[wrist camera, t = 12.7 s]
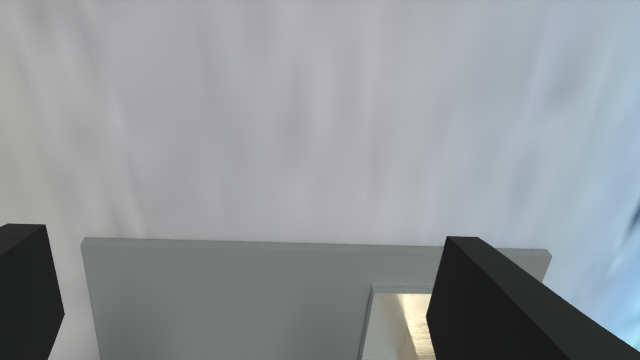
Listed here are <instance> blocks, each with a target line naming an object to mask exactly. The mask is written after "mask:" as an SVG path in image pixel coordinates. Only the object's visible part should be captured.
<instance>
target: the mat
mask: <svg viewBox="0 0 640 360" xmlns="http://www.w3.org/2000/svg"><path fill="white" fill-rule="evenodd" d="M443 249H444V247H425V246H387V245H348V244H310V243H271V242H233V241H195V240H156V239H118V238H84V240H83V242H82V243H81V251H82V256H83V262H84V267H85V273H86V279H87V284H88V290H89V296H90V301H91V307H92V313H93V318H94V324H95V330H96V335H97V341H98V346H99V352H100V358H101V360H358V356H359V351H360V346H361V340H362V335H363V329H364V324H365V319H366V313H367V308H368V302H369V297H370V291H371V286H372V284H398V285H434V283H435V279H436V275H437V272H438V268H439V264H440V260H441V257H442V253H443ZM495 249H496V250H498V251H499V252H500V253H502V254H503V255H505V256H506V257H507V258H509V259H510V260H511V261H513V262H514V263H515V264H517V265H518V266H519V267H521V268H522V269H523V270H525V271H526V272H527V273H529V274H530V275H531V276H533V277H534V278H535V279H537V280H538V281H540V282H541V283H542V281H543V278H544V276H545V273H546V271H547V268H548V266H549V263H550V261H551V258H552V255H551V254H550V253H549V252H548V251H547V250H541V249H502V248H495Z"/></svg>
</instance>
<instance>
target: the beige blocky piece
mask: <svg viewBox="0 0 640 360" xmlns="http://www.w3.org/2000/svg"><path fill="white" fill-rule="evenodd" d="M433 287H434V285H398V284H372V286H371V291H370V297H369V302H368V308H367V313H366V319H365V324H364V329H363V335H362V340H361V346H360V351H359V356H358V360H436V357H435V354H434V350H433V346H432V342H431V338H430V334H429V329H428V325H427V321H426V313H427V309H428V306H429V302H430V298H431V294H432V291H433Z"/></svg>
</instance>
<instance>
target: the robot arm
mask: <svg viewBox="0 0 640 360" xmlns="http://www.w3.org/2000/svg"><path fill="white" fill-rule="evenodd" d="M64 315H65V313H64V308H63V304H62V299H61V294H60V290H59V285H58V280H57V276H56V271H55V266H54V262H53V257H52V252H51V248H50V243H49V238H48V234H47V229H46V225H41V224H6V225H4V226H1V227H0V360H48V357H49V355H50V352H51V350H52V347H53V345H54V342H55V339H56V337H57V334H58V331H59V328H60V326H61V323H62V320H63V317H64ZM426 321H427V325H428V329H429V334H430V338H431V342H432V346H433V350H434V354H435V357H436V360H640V352H639V351H637V350H636V349H634V348H633V347H631V346H630V345H628V344H627V343H625V342H624V341H622V340H621V339H619V338H618V337H617V336H615V335H614V334H612V333H611V332H609V331H608V330H606V329H605V328H603V327H602V326H600V325H599V324H597V323H596V322H595V321H593V320H592V319H590V318H589V317H587V316H586V315H585V314H583V313H582V312H580V311H579V310H578V309H576V308H575V307H573V306H572V305H571V304H569V303H568V302H567V301H565V300H564V299H563V298H561V297H560V296H558V295H557V294H556V293H554V292H553V291H552V290H550V289H549V288H548V287H546V286H545V285H544V284H542V283H541V282H540V281H538V280H537V279H535V278H534V277H533V276H531V275H530V274H529V273H527V272H526V271H525V270H523V269H522V268H521V267H519V266H518V265H517V264H515V263H514V262H513V261H511V260H510V259H509V258H507V257H506V256H505V255H503V254H502V253H500V252H499V251H498V250H496V249H495V248H493V247H492V246H491V245H489V244H488V243H486V242H484V241H483V240H481V239H480V238H478V237H457V236H447V238H446V241H445V245H444V249H443V253H442V257H441V260H440V264H439V268H438V272H437V275H436V279H435V283H434V287H433V291H432V294H431V298H430V302H429V306H428V309H427V313H426Z"/></svg>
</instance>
